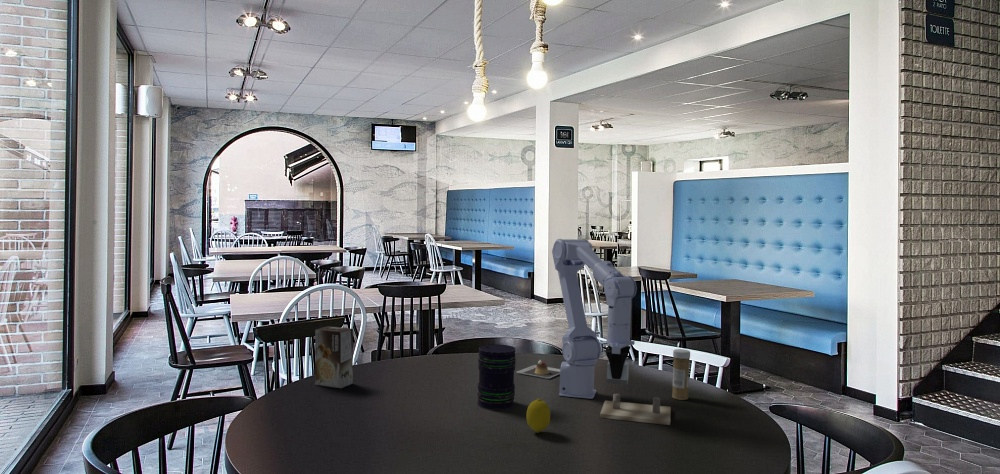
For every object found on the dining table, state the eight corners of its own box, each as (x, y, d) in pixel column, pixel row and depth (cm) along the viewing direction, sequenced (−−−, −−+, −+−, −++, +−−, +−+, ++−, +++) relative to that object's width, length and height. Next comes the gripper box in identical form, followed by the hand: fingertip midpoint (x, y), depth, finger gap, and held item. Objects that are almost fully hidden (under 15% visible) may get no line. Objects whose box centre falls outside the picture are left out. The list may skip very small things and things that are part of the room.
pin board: (599, 417, 163) (600, 399, 163) (604, 404, 175) (605, 387, 175) (670, 425, 159) (670, 406, 159) (670, 410, 171) (671, 393, 170)
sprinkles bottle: (692, 399, 182) (693, 351, 181) (680, 401, 179) (682, 352, 179) (679, 394, 186) (680, 347, 185) (668, 397, 183) (669, 349, 183)
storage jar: (520, 402, 175) (522, 346, 174) (505, 412, 166) (506, 353, 165) (487, 397, 179) (488, 342, 178) (470, 406, 170) (471, 349, 169)
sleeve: (606, 383, 166) (607, 363, 166) (608, 378, 171) (609, 359, 171) (626, 385, 165) (627, 365, 165) (628, 380, 170) (628, 361, 169)
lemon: (524, 428, 154) (525, 395, 153) (547, 428, 154) (548, 395, 154) (527, 437, 148) (528, 402, 148) (551, 437, 149) (552, 402, 148)
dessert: (567, 373, 209) (567, 358, 208) (549, 381, 199) (549, 366, 198) (534, 368, 215) (534, 353, 215) (515, 375, 205) (515, 360, 205)
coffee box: (353, 383, 189) (354, 328, 188) (340, 389, 183) (341, 332, 182) (327, 379, 192) (328, 325, 192) (313, 384, 187) (314, 329, 186)
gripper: (633, 329, 159) (631, 384, 160) (636, 320, 173) (634, 370, 174) (604, 327, 161) (602, 381, 162) (609, 318, 175) (608, 368, 176)
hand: (617, 376), depth 168 cm, fingers closed on sleeve, 5 cm apart
